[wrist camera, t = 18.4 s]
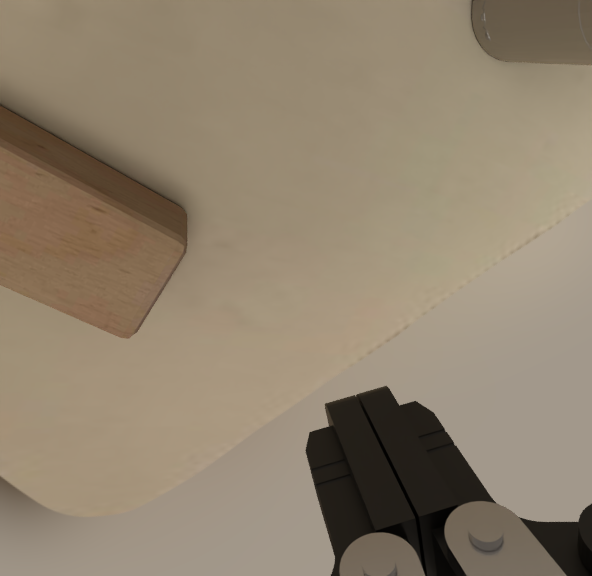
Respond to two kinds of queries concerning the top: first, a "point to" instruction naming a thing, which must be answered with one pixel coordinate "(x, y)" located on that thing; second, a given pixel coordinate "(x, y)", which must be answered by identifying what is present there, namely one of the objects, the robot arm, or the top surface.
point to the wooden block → (82, 231)
